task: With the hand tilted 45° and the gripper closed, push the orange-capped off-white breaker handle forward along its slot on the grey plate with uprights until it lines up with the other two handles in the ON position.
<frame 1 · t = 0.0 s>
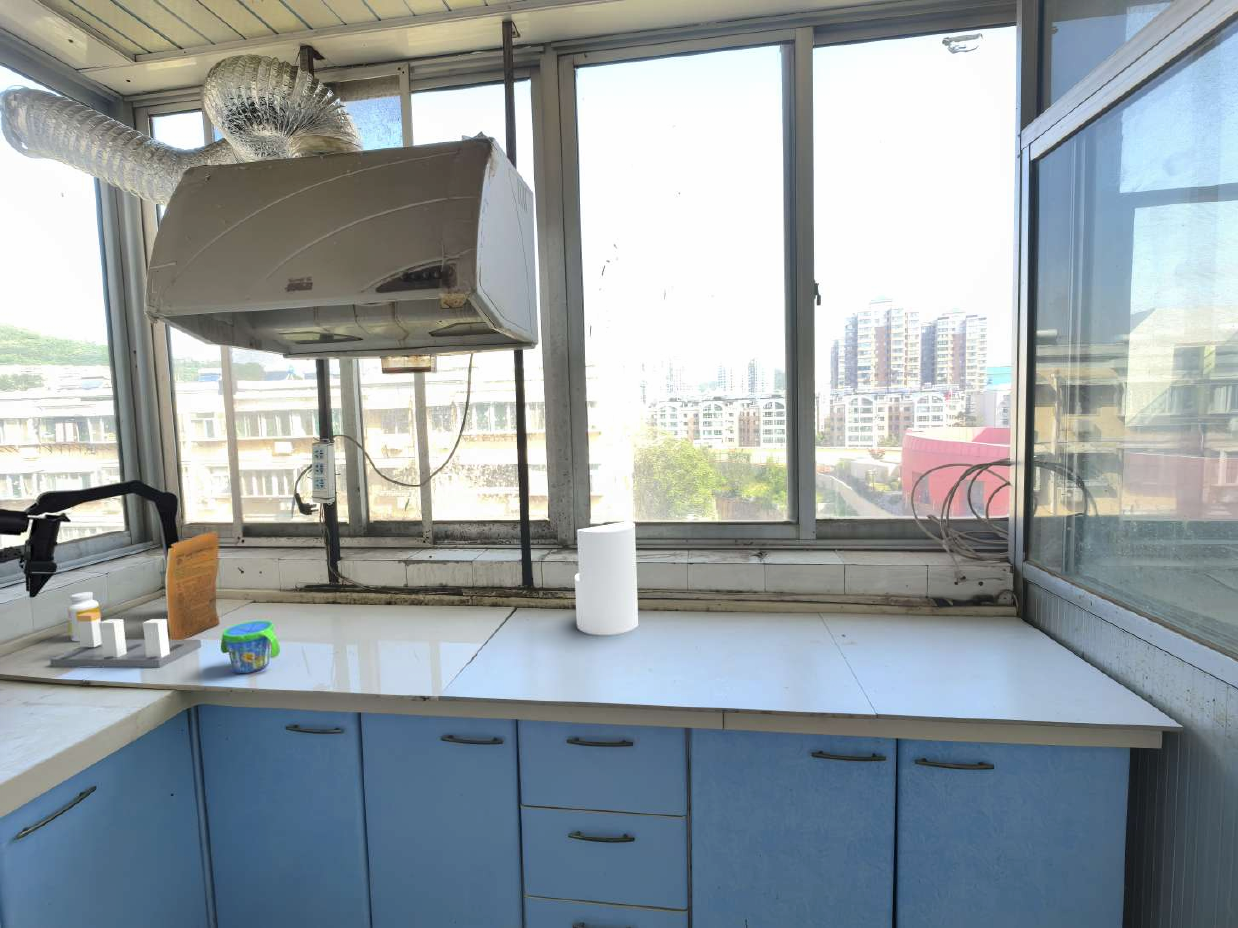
hand: (30, 594, 162), 15 cm above the worktop, tool pointing down, fingers open, 9 cm apart
supplement bottle: (87, 638, 171), on the worktop
tripped breaker handle: (90, 629, 158), point 7 cm above the worktop, slide at 0.0 cm
snack cup: (252, 668, 146), on the worktop
grey plate with uprights: (128, 656, 156), on the worktop
cylinder: (607, 624, 168), on the worktop
pancake mix bag: (198, 631, 173), on the worktop
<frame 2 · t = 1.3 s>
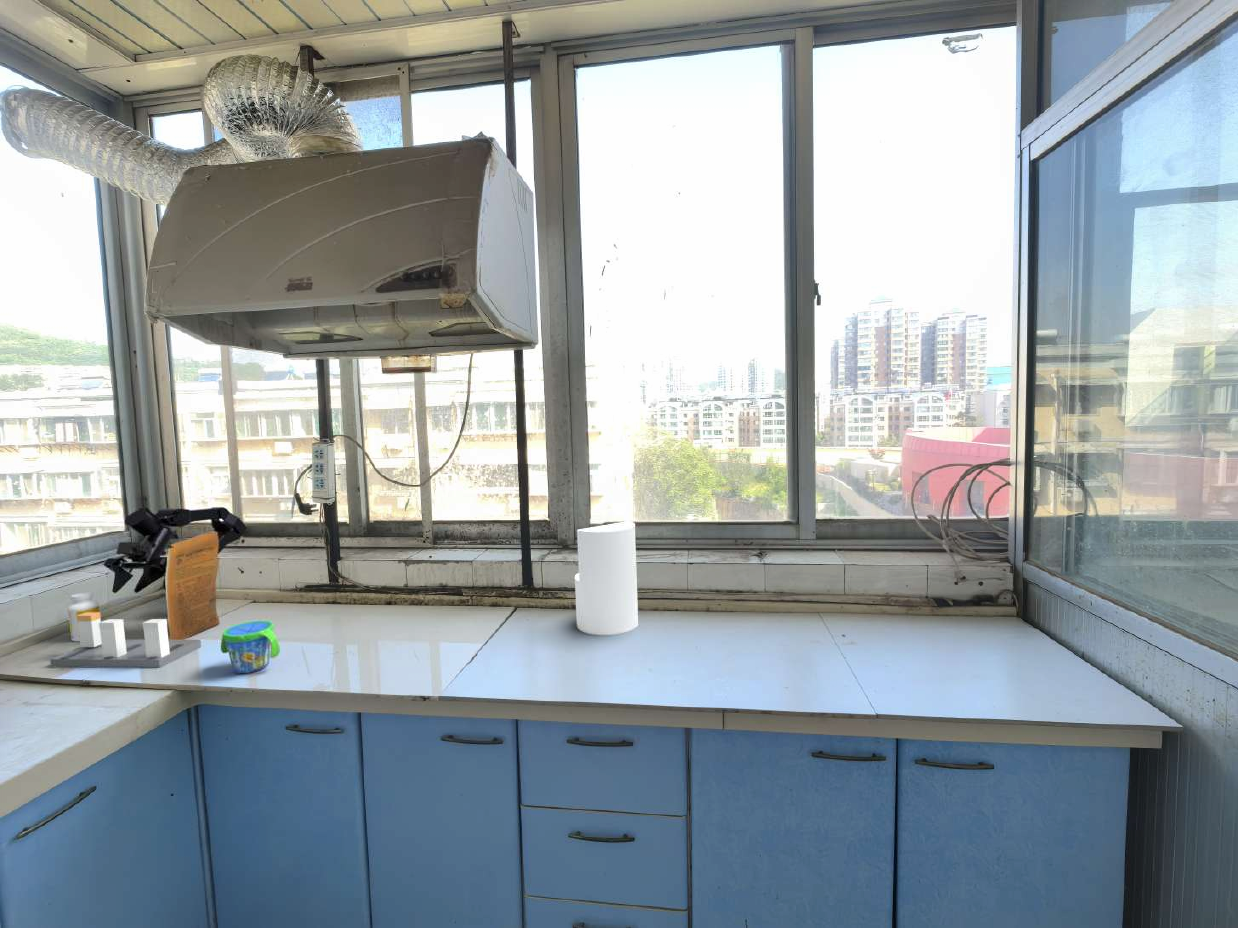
hand: (124, 592, 168), 13 cm above the worktop, tool tilted 45°, fingers open, 6 cm apart
nothing on the worktop moved.
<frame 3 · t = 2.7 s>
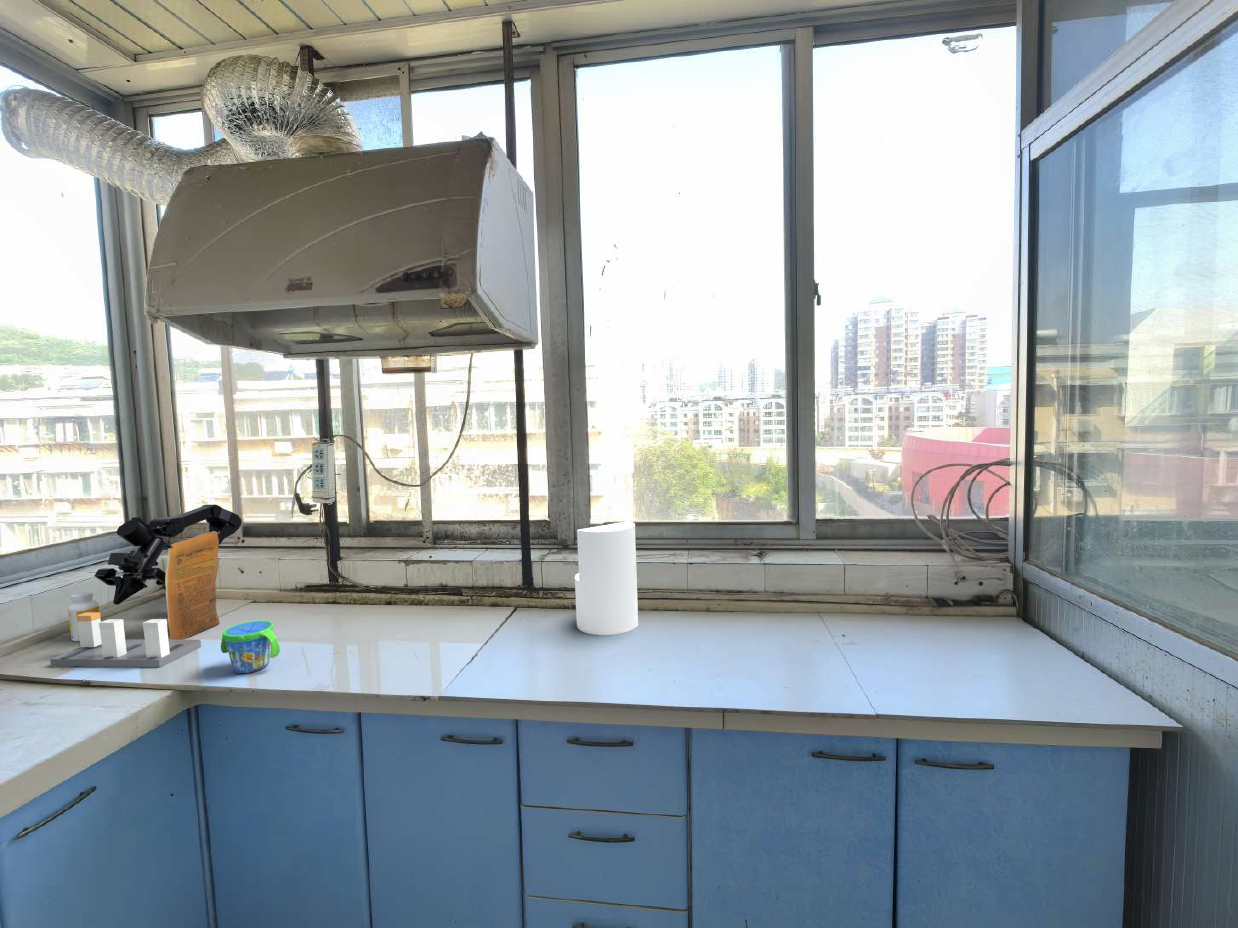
hand: (115, 603, 165), 11 cm above the worktop, tool tilted 45°, fingers closed
nothing on the worktop moved.
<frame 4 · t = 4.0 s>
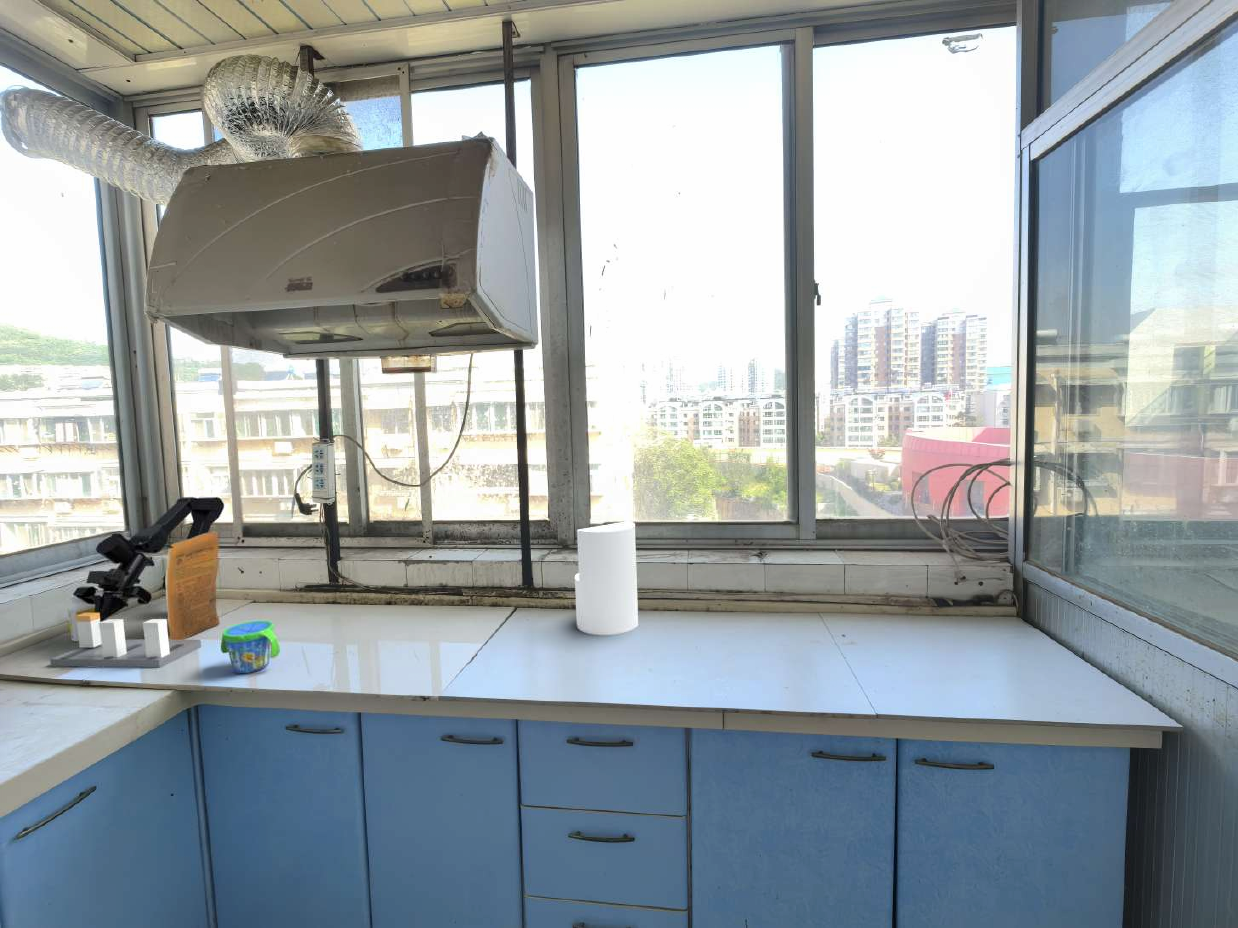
hand: (94, 624, 159), 8 cm above the worktop, tool tilted 45°, fingers closed, pressing on tripped breaker handle
tripped breaker handle: (89, 629, 158), point 7 cm above the worktop, slide at 0.2 cm, touching gripper
everything else where it was.
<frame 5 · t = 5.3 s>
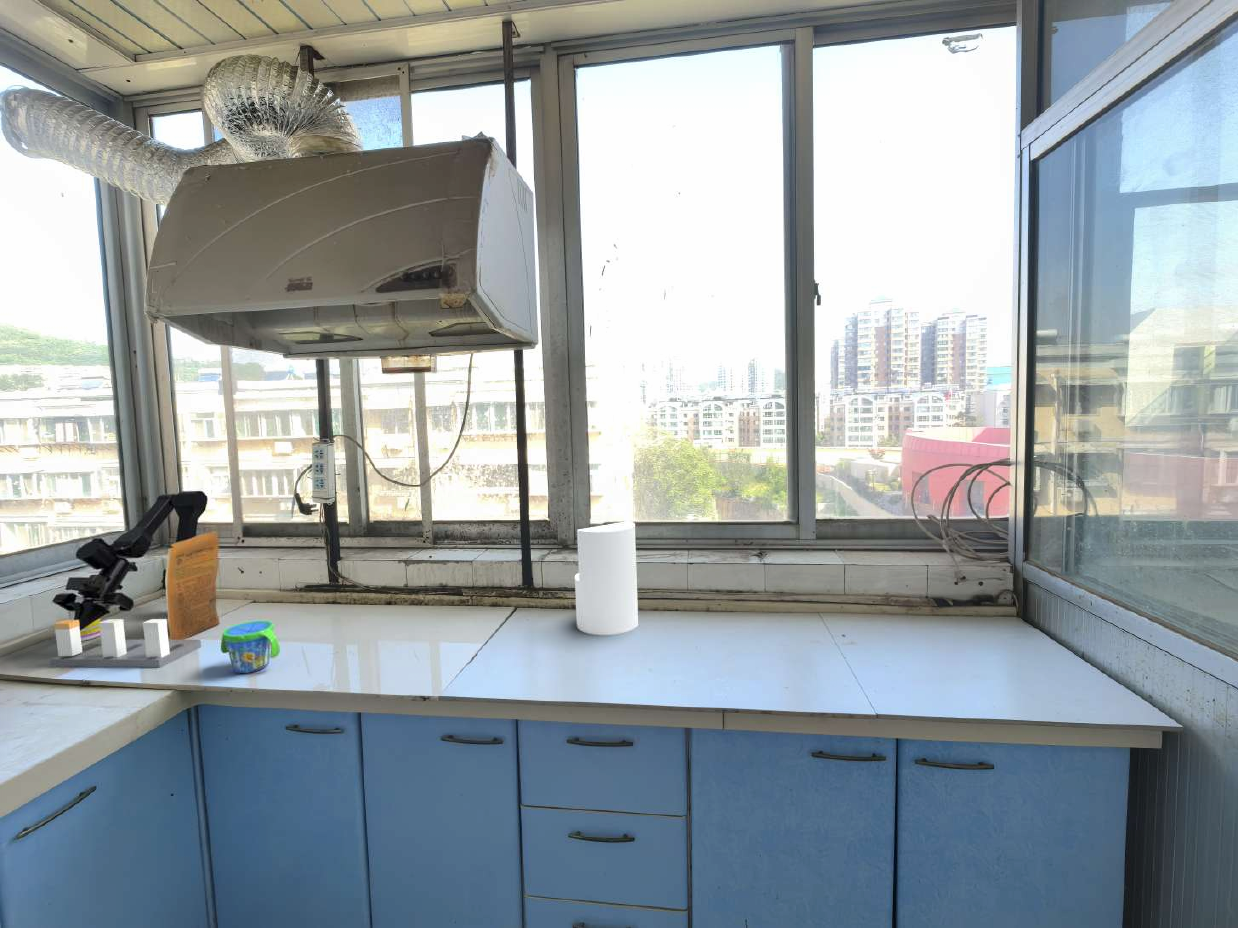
hand: (74, 632, 154), 8 cm above the worktop, tool tilted 45°, fingers closed, pressing on tripped breaker handle
tripped breaker handle: (68, 637, 152), point 7 cm above the worktop, slide at 5.7 cm, touching gripper
everything else where it was.
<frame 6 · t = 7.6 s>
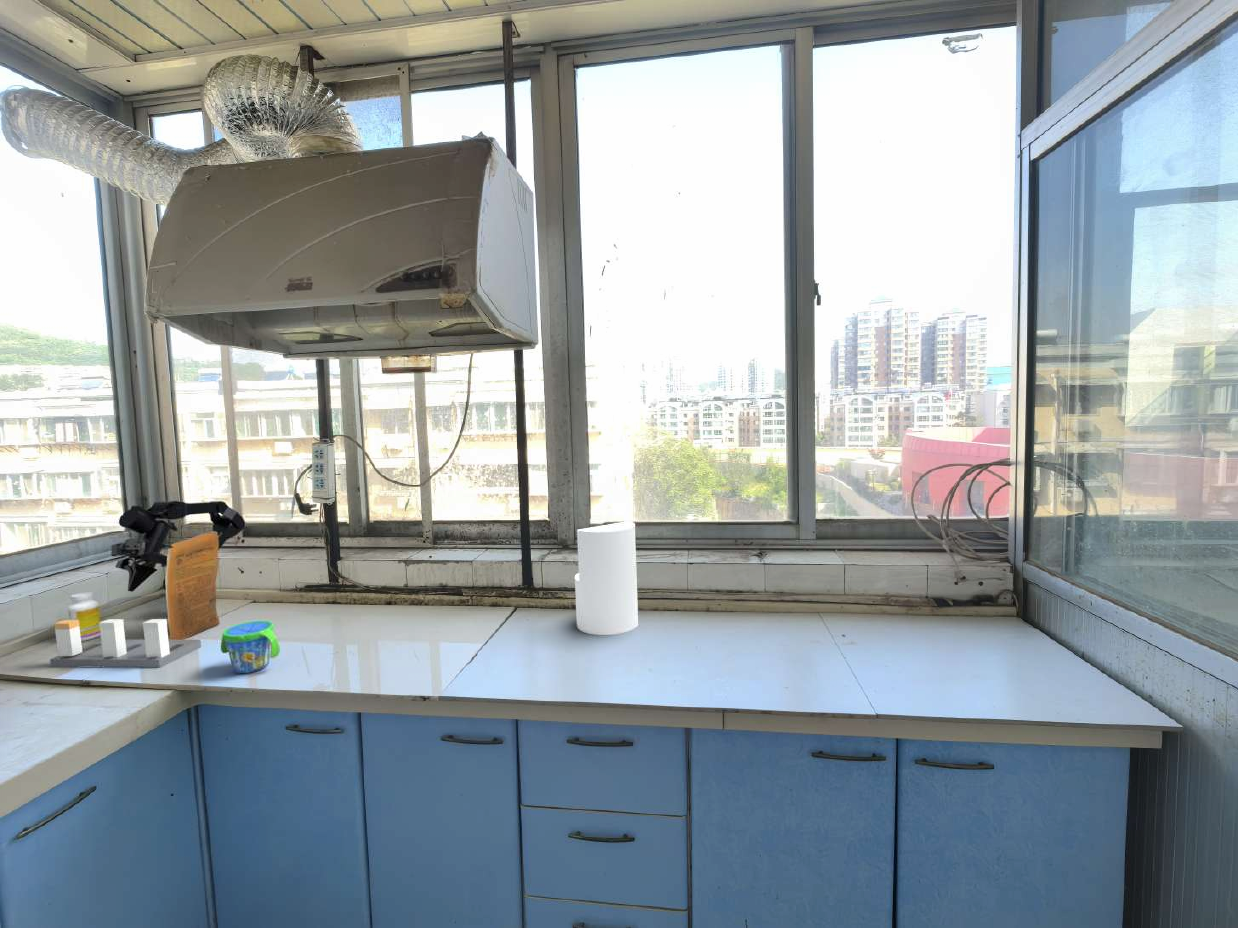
hand: (130, 591, 171), 13 cm above the worktop, tool tilted 35°, fingers closed
tripped breaker handle: (68, 637, 152), point 7 cm above the worktop, slide at 5.7 cm
everything else where it was.
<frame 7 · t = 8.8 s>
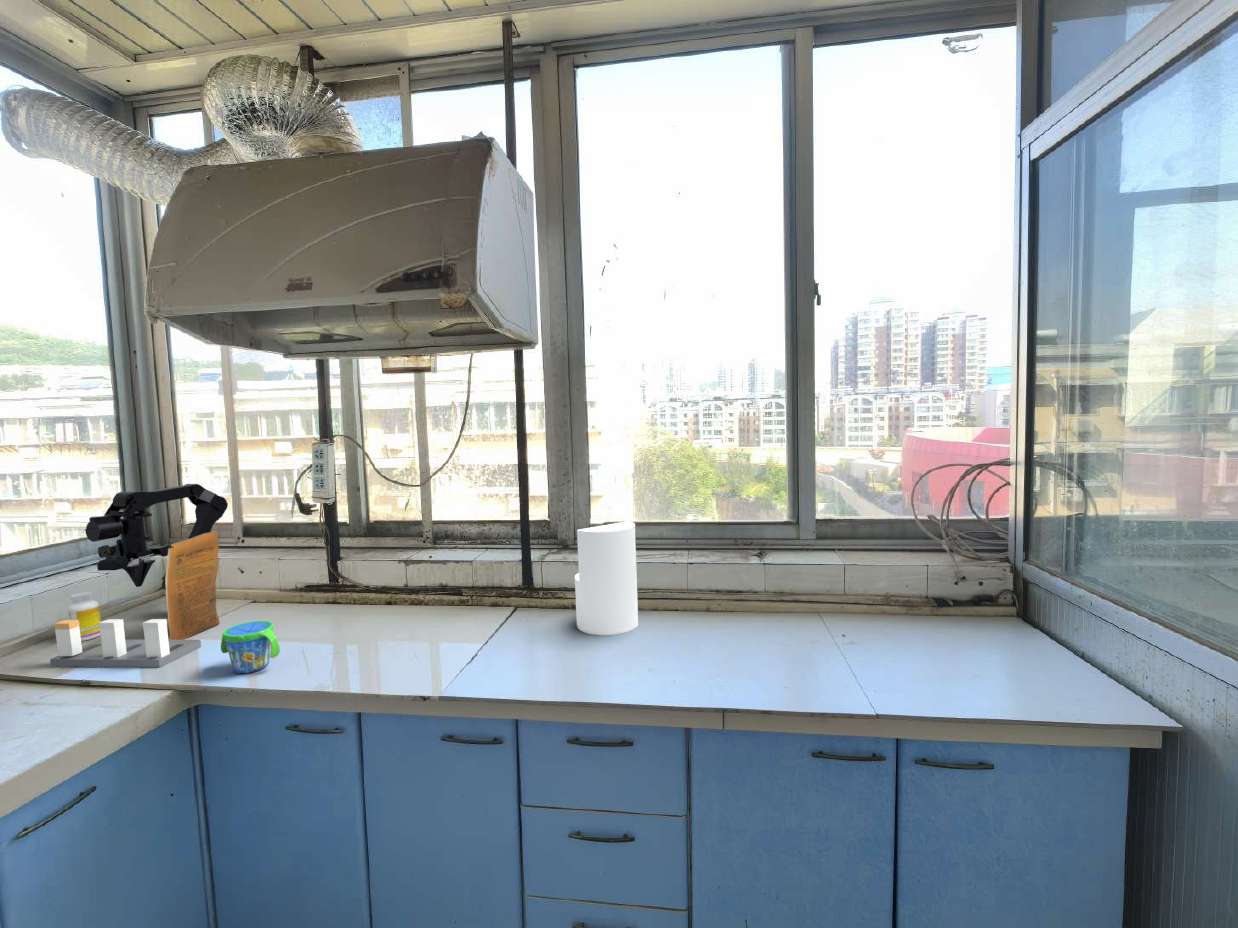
hand: (138, 586, 175), 13 cm above the worktop, tool pointing down, fingers closed
nothing on the worktop moved.
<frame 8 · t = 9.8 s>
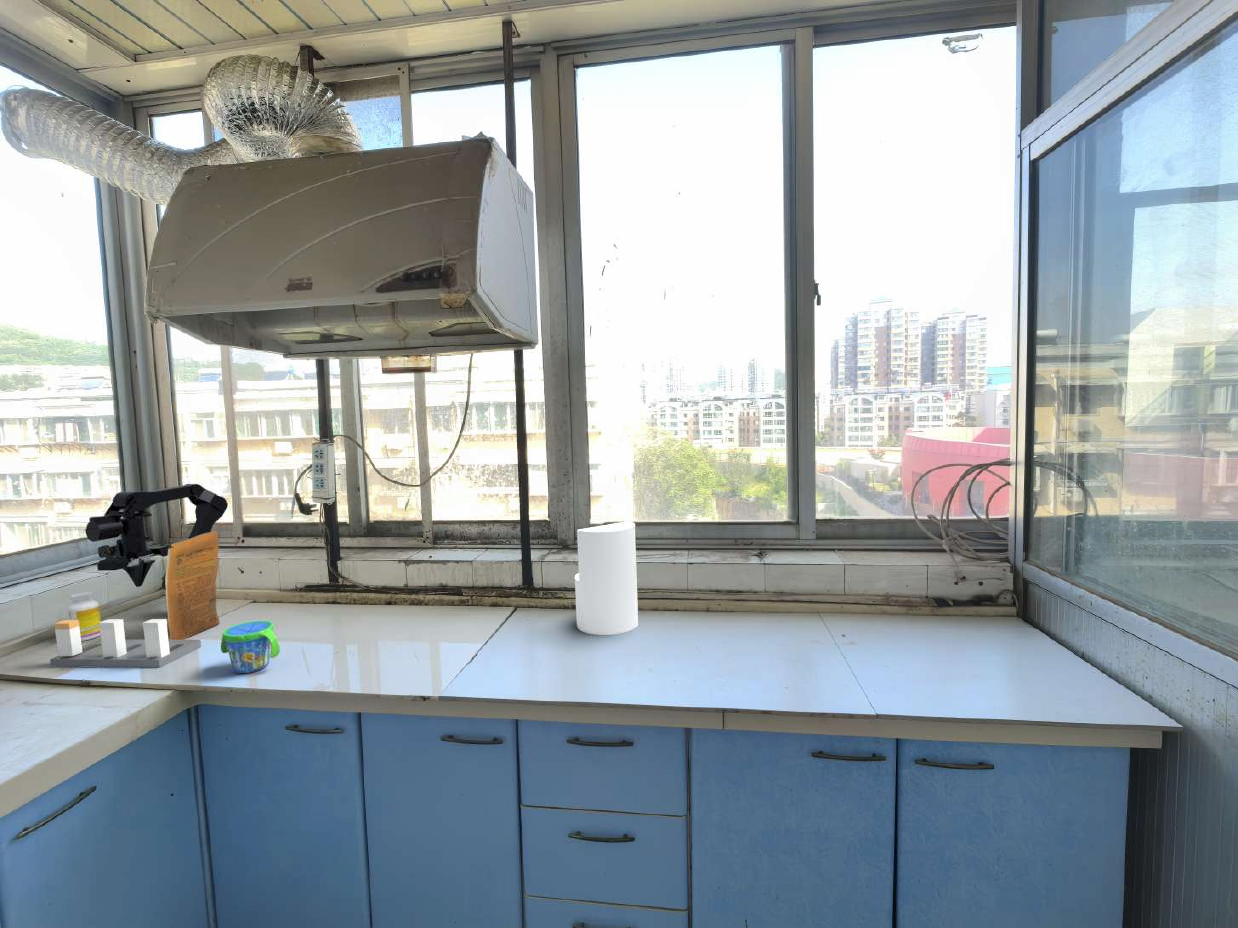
hand: (138, 586, 175), 13 cm above the worktop, tool pointing down, fingers closed
nothing on the worktop moved.
at the end: tripped breaker handle slide at 5.7 cm; supplement bottle moved 0.2 cm from its start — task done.
